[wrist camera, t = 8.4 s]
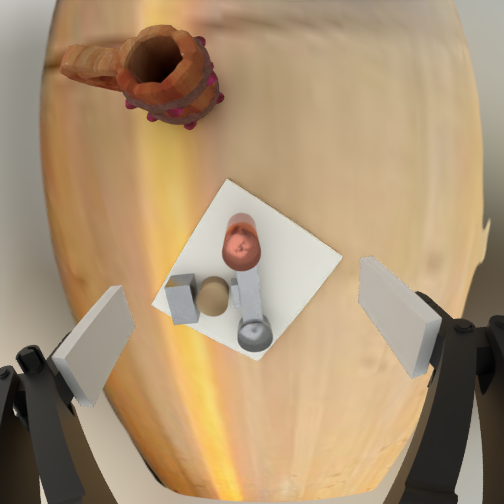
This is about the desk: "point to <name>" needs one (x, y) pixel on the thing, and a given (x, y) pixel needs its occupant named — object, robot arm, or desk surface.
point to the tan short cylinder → (213, 296)
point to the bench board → (269, 266)
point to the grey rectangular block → (183, 298)
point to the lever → (246, 282)
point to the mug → (152, 73)
